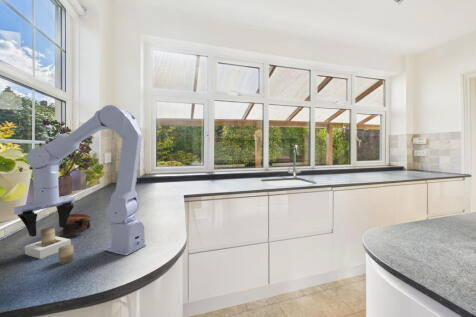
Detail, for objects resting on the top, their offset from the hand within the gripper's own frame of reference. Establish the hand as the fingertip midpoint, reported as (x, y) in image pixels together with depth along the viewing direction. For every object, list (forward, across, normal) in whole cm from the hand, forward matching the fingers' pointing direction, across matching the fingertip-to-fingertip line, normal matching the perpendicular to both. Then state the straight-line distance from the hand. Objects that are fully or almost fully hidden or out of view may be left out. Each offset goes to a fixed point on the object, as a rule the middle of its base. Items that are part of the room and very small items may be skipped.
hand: (48, 231), depth 66 cm
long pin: (+6, 0, 0) cm, 6 cm away
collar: (+6, 0, 0) cm, 6 cm away
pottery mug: (+6, -13, -8) cm, 17 cm away
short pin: (+6, +2, +12) cm, 14 cm away
